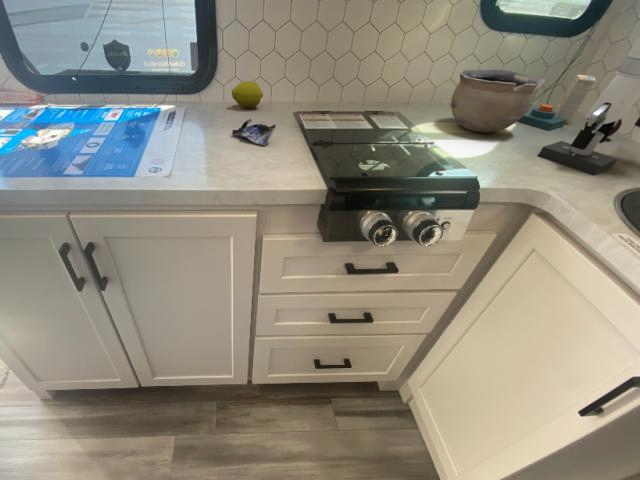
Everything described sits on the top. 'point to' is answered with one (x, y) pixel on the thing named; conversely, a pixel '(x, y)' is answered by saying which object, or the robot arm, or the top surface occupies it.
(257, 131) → the snack package
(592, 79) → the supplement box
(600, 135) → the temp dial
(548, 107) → the button
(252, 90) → the lemon
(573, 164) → the dial base
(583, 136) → the robot arm
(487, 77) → the ceramic bowl
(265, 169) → the top surface
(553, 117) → the block
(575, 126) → the top surface
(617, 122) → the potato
